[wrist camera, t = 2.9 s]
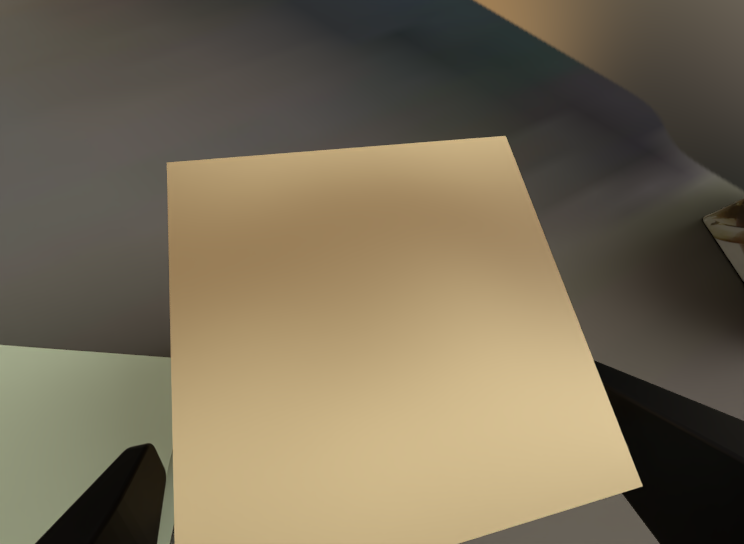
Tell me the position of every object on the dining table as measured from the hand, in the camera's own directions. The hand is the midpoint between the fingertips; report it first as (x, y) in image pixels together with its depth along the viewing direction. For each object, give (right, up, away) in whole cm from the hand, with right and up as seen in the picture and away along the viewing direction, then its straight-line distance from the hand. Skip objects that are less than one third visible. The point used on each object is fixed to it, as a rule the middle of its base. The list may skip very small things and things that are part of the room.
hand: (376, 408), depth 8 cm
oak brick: (-1, -2, +9) cm, 9 cm away
